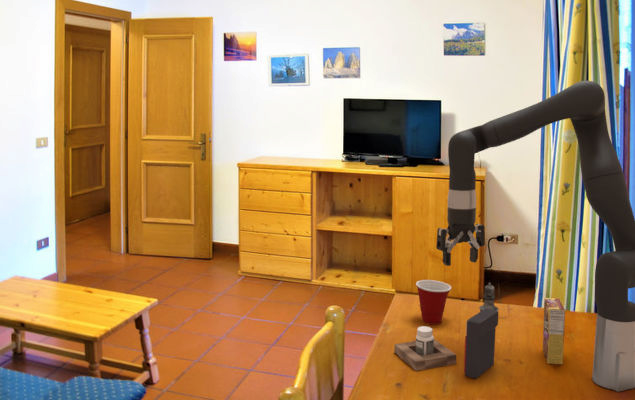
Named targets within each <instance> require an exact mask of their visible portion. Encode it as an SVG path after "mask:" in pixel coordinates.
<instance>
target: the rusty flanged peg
mask: <svg viewBox="0 0 635 400" xmlns="http://www.w3.org/2000/svg"><path fill="white" fill-rule="evenodd" d="M483 298H484V299H483V304H482V305H480V306H479V308H478V309H479V312H481V311H482V310H484V309H485V308H486V309H491V310H495V311H498V312H499V307H497V306H495V299H496V295H495V286H494V285H492V283H491V282H488V284H487V285H486V286H485V287H484V295H483Z"/></svg>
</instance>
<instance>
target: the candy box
mask: <svg viewBox="0 0 635 400" xmlns="http://www.w3.org/2000/svg"><path fill="white" fill-rule="evenodd" d="M543 301H544V303H543V332H542V333H543V334H542V335H543V336H542V352H543V354H544V357H545V361H546V364H549V365H563V364H564V363H563V362H564V361H563V360H564V348H565V347H564V345H565V343H564V342H565V341H564V340H565V339H564V338H565V322H566V319H565V318H566V309H565V308H564V306H563V303H562V302H561V300H560V298H555V297H553V298H551V297H544V300H543Z"/></svg>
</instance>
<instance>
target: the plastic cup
mask: <svg viewBox="0 0 635 400" xmlns="http://www.w3.org/2000/svg"><path fill="white" fill-rule="evenodd" d="M415 286H416V288H417V294H418V301H419V307H420V313H421V319H422V322H423V323H425V324H427V323H428V324H429V325H438V323H439V324H441V323H442V320H443V317H444V315H443V314H444V312H445V308H446V302H447V298H448V296H449V292H450V291H451V290H452V286H451V285H450V284H449V283H446V282H442V281H439V280H432V279H421V280H418V281H416V283H415Z"/></svg>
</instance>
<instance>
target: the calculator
mask: <svg viewBox="0 0 635 400" xmlns="http://www.w3.org/2000/svg"><path fill="white" fill-rule="evenodd" d="M465 323H466V324H465V325H466V326H465V337H464V359H463V360H464V362H463V364H464V365H463V373H465V374H464V375H465V377H469V378H471V379H475V380H476V379H477V378H479V377H480V376H482V375H483V374H484V373H485V372H487V371H488V370H489V369H491V367H493V366H494V364H495V351H496V350H495V349H496V348H495V347H496V346H495V345H496V329H497V326H498V325H499V310H498V311H495V310H491V309H486V308H485V309H484V310H482V311H481V312H480V311H479V312H478V313H476V314H474V315H473V316H471V317H470V318H468V319H467V320H466V322H465Z"/></svg>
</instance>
